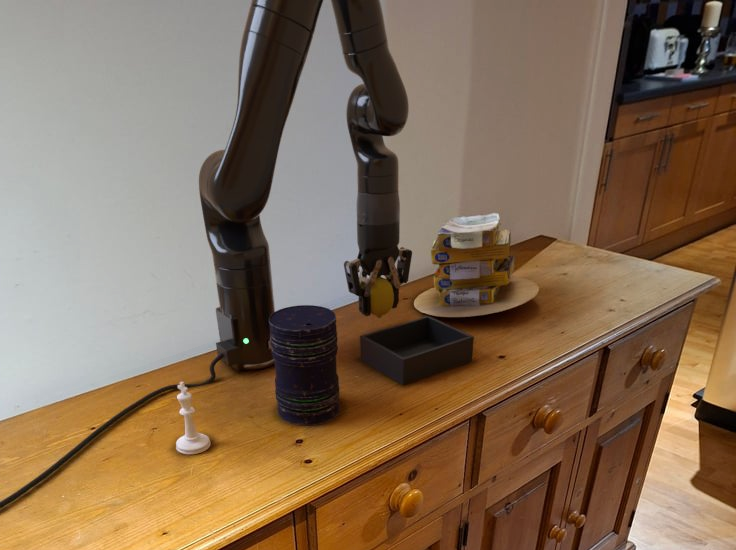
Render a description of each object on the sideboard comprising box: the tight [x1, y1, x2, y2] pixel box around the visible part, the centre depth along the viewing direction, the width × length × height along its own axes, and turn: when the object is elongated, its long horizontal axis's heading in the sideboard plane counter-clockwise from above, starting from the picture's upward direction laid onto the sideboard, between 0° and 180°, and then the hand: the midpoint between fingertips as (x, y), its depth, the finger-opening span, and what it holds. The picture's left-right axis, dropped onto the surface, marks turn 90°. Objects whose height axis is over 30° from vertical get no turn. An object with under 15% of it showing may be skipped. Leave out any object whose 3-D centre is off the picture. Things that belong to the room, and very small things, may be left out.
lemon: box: [369, 276, 394, 319], centre depth 132 cm, size 6×6×8 cm
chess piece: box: [175, 381, 211, 455], centre depth 99 cm, size 5×5×10 cm
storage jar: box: [269, 304, 341, 426], centre depth 105 cm, size 10×10×15 cm
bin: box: [359, 315, 475, 386], centre depth 122 cm, size 15×12×4 cm
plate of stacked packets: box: [413, 212, 540, 318], centre depth 139 cm, size 25×25×17 cm
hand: (379, 310), depth 133 cm, fingers closed on lemon, 5 cm apart
